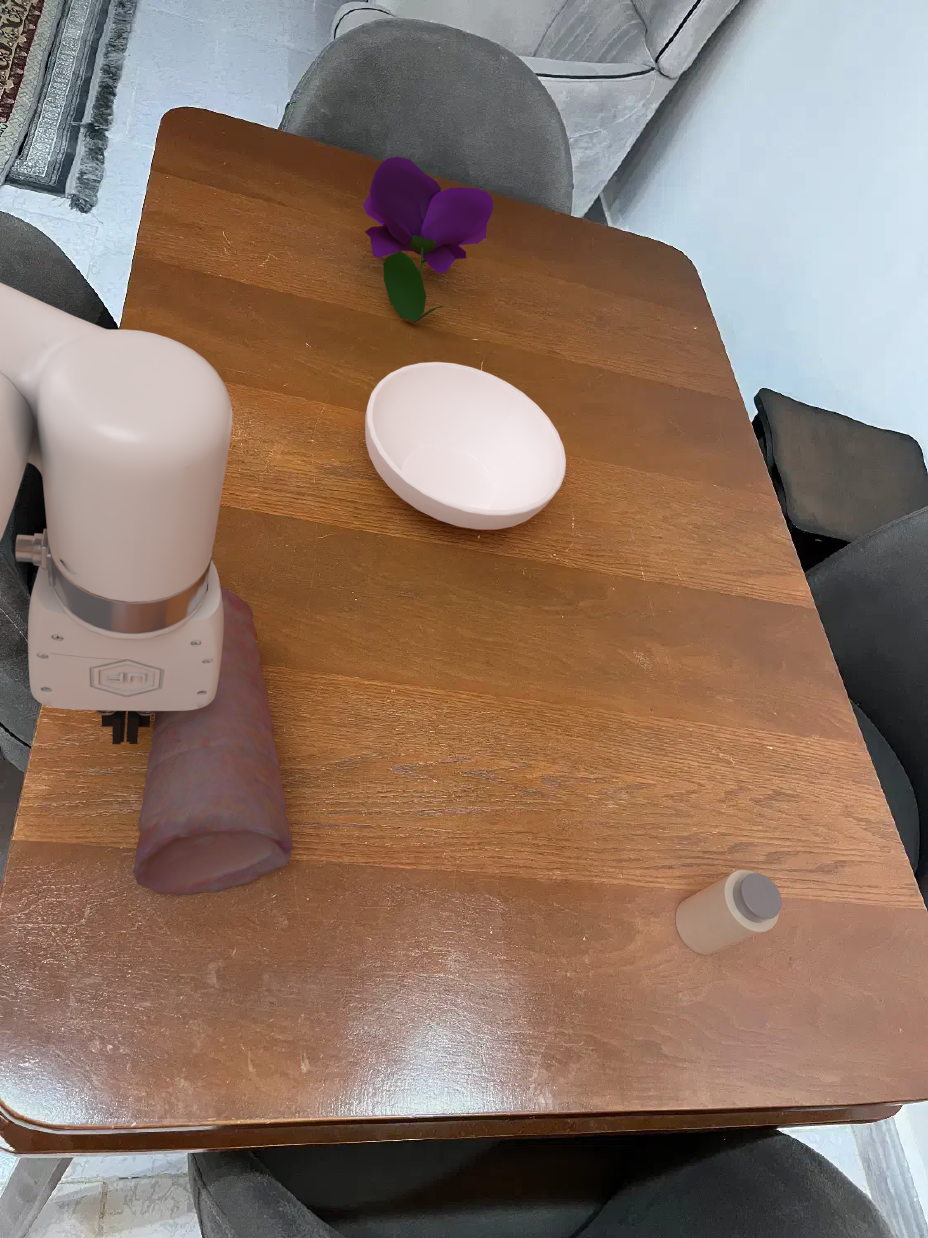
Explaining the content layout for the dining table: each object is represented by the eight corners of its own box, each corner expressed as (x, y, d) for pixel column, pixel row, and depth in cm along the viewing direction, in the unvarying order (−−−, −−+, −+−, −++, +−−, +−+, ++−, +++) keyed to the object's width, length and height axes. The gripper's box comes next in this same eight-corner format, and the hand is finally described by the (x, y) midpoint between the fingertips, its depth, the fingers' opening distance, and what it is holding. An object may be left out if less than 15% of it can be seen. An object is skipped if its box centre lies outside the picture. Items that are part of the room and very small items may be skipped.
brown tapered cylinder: (282, 882, 57) (303, 838, 50) (134, 904, 54) (135, 860, 47) (250, 621, 68) (264, 555, 61) (124, 625, 64) (124, 554, 57)
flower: (457, 359, 104) (466, 257, 105) (499, 304, 90) (509, 187, 91) (340, 333, 99) (351, 227, 101) (365, 272, 85) (377, 150, 87)
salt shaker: (684, 958, 64) (746, 930, 57) (668, 899, 66) (726, 866, 59) (732, 952, 65) (798, 924, 59) (714, 895, 67) (776, 862, 61)
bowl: (308, 469, 79) (322, 414, 73) (429, 389, 91) (448, 335, 85) (468, 598, 76) (495, 550, 71) (571, 497, 88) (600, 450, 83)
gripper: (-50, 616, 38) (-7, 778, 52) (284, 631, 43) (240, 775, 57) (-25, 490, 42) (9, 672, 56) (278, 519, 47) (239, 679, 61)
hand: (126, 724), depth 57 cm, fingers closed
